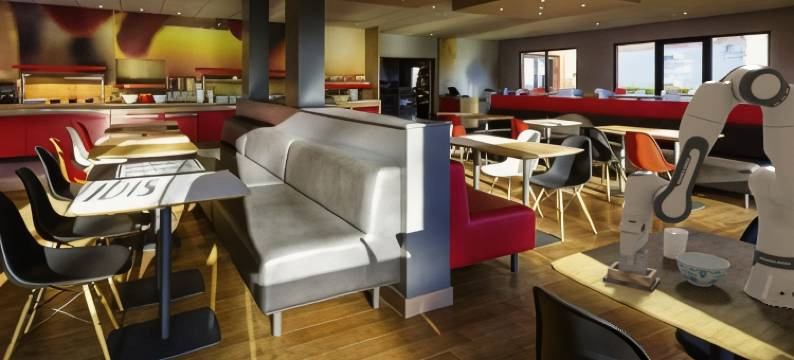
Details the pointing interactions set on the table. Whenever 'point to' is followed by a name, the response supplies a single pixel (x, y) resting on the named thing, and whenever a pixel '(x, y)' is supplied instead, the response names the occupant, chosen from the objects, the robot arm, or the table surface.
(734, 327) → the table surface
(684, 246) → the white cup
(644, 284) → the locating plate
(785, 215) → the robot arm
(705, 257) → the chinaware
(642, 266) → the medicine box
